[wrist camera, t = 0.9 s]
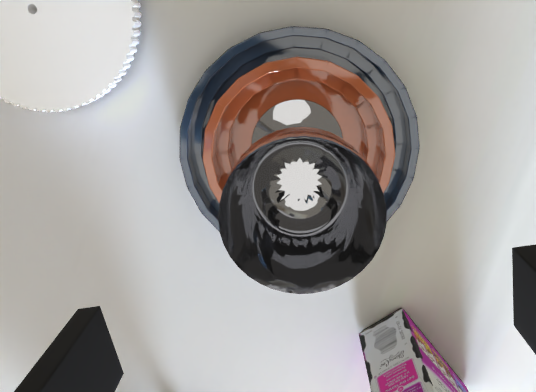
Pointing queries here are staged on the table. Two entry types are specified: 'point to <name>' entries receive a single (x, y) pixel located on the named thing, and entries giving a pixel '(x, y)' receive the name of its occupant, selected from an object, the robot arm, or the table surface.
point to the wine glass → (301, 203)
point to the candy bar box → (405, 358)
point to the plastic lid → (64, 50)
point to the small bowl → (297, 87)
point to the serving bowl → (310, 44)
